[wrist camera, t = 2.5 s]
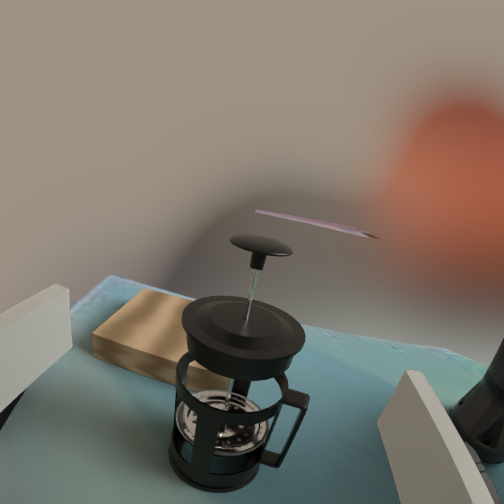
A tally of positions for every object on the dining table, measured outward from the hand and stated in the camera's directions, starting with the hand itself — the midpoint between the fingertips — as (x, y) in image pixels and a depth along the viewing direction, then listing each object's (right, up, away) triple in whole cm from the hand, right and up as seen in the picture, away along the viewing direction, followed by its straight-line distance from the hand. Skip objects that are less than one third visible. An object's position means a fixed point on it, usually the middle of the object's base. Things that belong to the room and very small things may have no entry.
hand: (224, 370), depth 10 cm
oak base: (-10, -10, +34) cm, 37 cm away
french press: (-3, -17, +15) cm, 23 cm away
